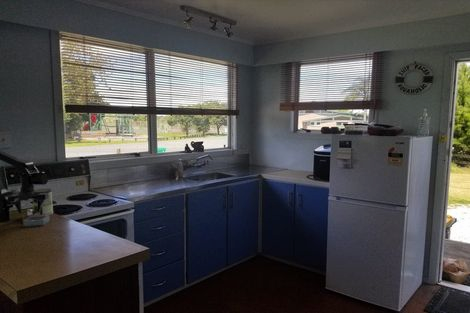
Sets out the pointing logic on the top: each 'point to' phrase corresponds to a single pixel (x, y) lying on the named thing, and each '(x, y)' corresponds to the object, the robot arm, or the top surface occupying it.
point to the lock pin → (29, 212)
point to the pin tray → (36, 220)
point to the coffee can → (44, 202)
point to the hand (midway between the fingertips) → (29, 212)
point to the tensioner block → (29, 216)
